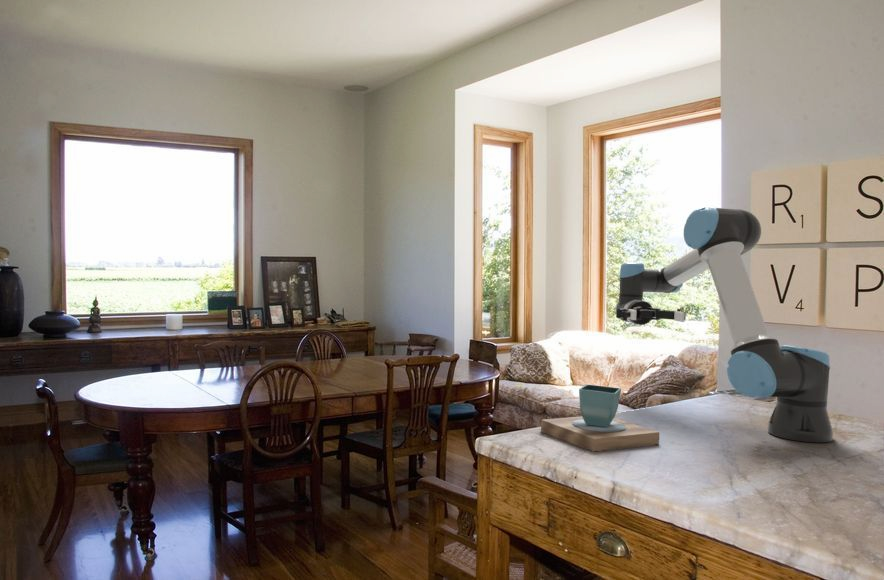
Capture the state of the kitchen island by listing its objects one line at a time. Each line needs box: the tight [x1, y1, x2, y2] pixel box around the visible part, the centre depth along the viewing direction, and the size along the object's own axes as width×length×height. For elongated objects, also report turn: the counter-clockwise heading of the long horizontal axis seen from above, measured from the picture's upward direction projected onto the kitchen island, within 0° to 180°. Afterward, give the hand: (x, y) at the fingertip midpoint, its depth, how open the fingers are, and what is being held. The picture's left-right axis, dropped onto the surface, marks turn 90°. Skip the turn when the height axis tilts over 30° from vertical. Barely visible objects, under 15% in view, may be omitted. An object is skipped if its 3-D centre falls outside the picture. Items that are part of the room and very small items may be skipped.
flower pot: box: [578, 384, 622, 427], centre depth 170 cm, size 9×9×9 cm
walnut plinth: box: [540, 415, 661, 452], centre depth 170 cm, size 20×20×3 cm
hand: (659, 316), depth 196 cm, fingers open, 13 cm apart
